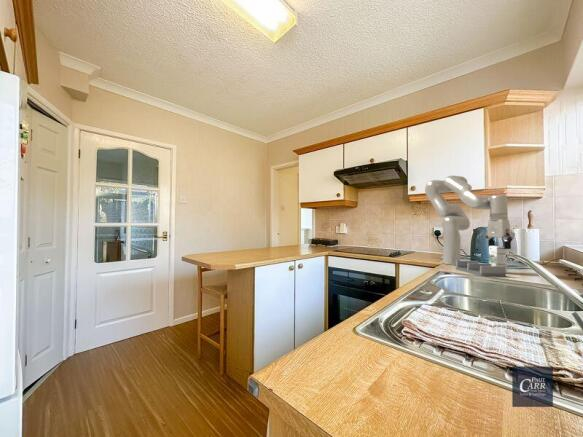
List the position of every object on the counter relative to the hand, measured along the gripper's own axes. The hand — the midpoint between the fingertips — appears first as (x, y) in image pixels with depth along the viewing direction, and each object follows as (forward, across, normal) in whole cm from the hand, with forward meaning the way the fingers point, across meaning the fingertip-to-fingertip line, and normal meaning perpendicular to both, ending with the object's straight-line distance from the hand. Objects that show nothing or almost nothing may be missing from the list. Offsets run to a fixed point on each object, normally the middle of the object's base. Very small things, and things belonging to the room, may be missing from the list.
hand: (499, 248), depth 134 cm
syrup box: (+14, -1, 0) cm, 14 cm away
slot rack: (+13, 0, -12) cm, 18 cm away
